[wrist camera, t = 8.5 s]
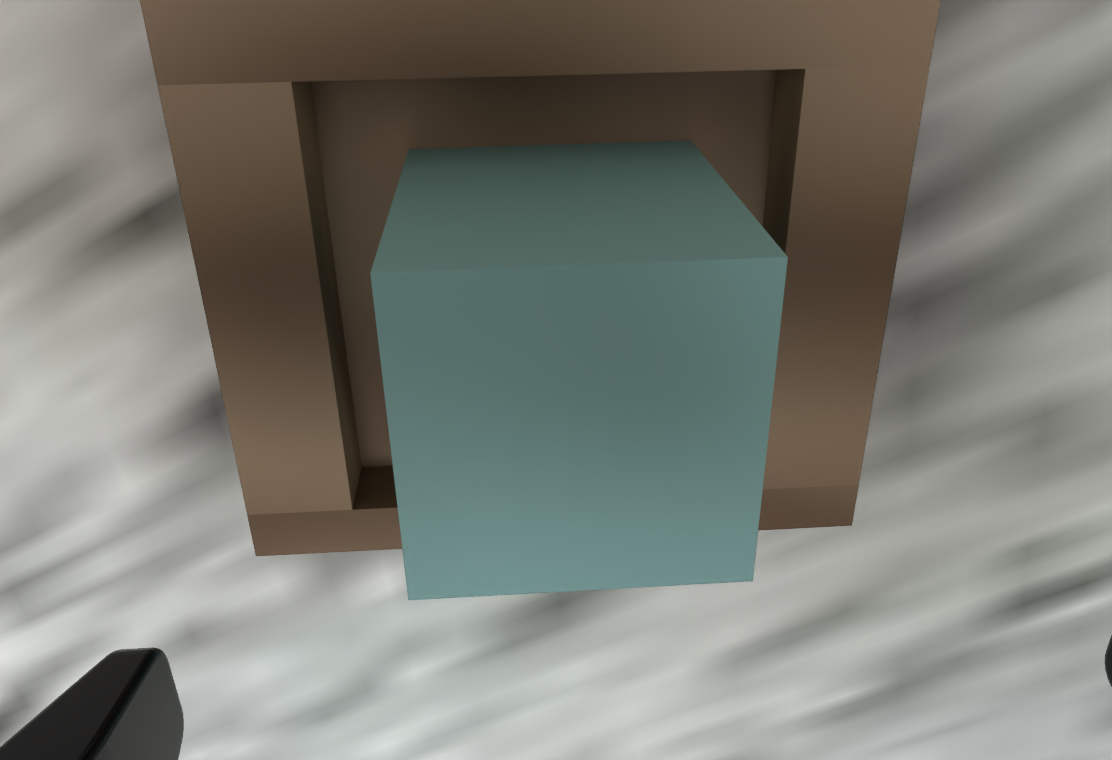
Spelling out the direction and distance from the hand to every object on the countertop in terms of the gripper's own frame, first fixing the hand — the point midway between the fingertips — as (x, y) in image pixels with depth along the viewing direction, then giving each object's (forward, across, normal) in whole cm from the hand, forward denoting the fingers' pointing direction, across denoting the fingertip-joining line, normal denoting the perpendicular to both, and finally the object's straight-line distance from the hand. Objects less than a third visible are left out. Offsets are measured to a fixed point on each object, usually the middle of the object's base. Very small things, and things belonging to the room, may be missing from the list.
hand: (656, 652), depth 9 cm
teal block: (+10, 0, 0) cm, 10 cm away
